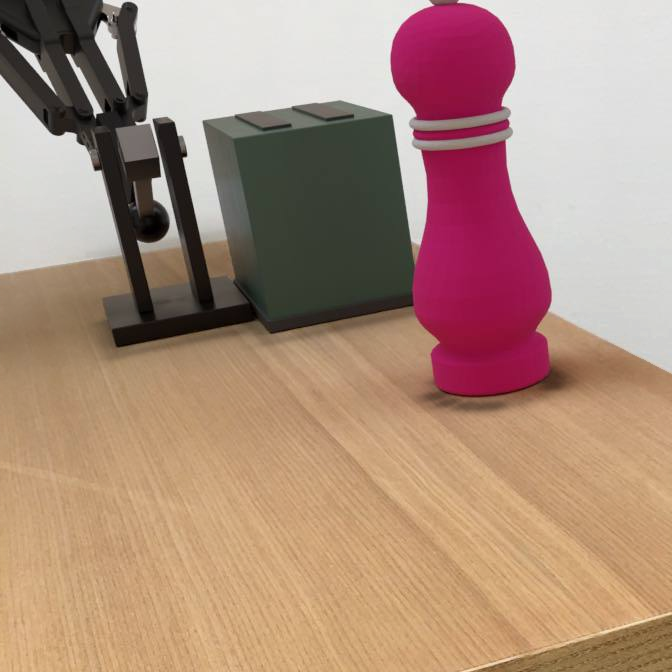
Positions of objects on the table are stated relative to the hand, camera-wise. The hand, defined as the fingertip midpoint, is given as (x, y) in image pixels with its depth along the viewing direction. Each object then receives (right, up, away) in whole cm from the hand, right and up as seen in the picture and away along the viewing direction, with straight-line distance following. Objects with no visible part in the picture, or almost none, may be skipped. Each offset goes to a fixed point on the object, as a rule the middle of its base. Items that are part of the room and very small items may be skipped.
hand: (140, 193), depth 89 cm
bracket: (+4, -10, -5) cm, 12 cm away
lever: (+2, -3, -5) cm, 6 cm away
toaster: (+14, -8, -3) cm, 17 cm away
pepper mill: (+27, -17, -24) cm, 39 cm away
